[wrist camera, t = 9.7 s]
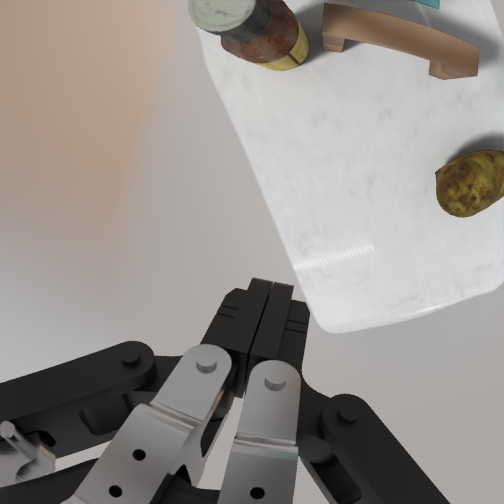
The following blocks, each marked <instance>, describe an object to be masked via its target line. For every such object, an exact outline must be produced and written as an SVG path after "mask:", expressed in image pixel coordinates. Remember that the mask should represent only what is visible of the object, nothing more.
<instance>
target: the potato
mask: <svg viewBox="0 0 504 504" xmlns="http://www.w3.org/2000/svg"><path fill="white" fill-rule="evenodd" d="M435 174H436V184H437V186H436V195H437V200H438V202H439V204H440V206H441V207H442V209H443V210H444V211H446V212H447V213H449V214H450V215H454V216H456V217H470V216H473V215H475V214H477V213H478V212H480V211H482V210H484V209H486V208H488V207H489V206H490V205H492V204H493V203H495V202H496V201H498V200H499V199H500V198H502V197H503V196H504V152H503V151H492V150H486V151H479V152H475V153H470V154H467V155H464V156H462V157H460V158H458V159H455V160H453V161H451V162H449V163H447V164H446V165H444V166H443V167H442V168H441V169H439V170H438V171H437V172H435Z"/></svg>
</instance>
